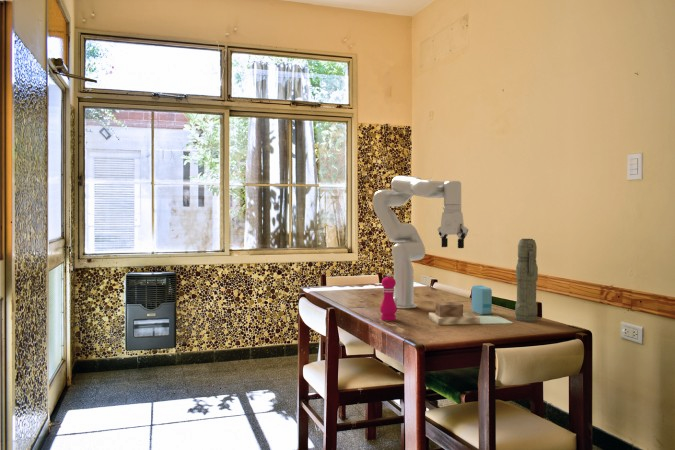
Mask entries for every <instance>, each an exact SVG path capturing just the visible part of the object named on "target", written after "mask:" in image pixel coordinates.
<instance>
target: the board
mask: <svg viewBox="0 0 675 450" xmlns="http://www.w3.org/2000/svg"><path fill="white" fill-rule="evenodd" d="M477 316H478V315H475V314H473V313H471V312H469V311H463V316H460V317H439V316H438V315H436V312H428V319H429V320H430V321H432V322H433V323H435V324H436V325H438V326H440V325H442V326H443V325H446V326H447V325H481V324H480V318H479V317H477Z"/></svg>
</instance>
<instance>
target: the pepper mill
mask: <svg viewBox="0 0 675 450" xmlns="http://www.w3.org/2000/svg"><path fill="white" fill-rule="evenodd" d="M395 285H396V281H395V279H394V277H392V276H391V273H389V272H388V273H387V274H386V276H385V277H383V278H382V279H381V286H382V292H383V298H382V299H383V300H382V302H381V304H380V309H379V311H380V313H381V317H380V318H381V319H380V320H381V321H384V320H388V321H387V322H391V320H394V321H396V319H397V318H396V317H397V316H396V313H397V312H398V308H397V307H396V304H395V301H394V298H393V296H394V286H395Z"/></svg>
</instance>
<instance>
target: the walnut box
mask: <svg viewBox="0 0 675 450" xmlns="http://www.w3.org/2000/svg"><path fill="white" fill-rule="evenodd" d="M434 305H435V313H436V315H438V316H439V317H460V316H463V312H464V304H463V303H461V302H459V301H454V302H453V301H449V302H447V301H446V302H445V301H443V302H435V304H434Z"/></svg>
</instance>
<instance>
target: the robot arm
mask: <svg viewBox="0 0 675 450" xmlns="http://www.w3.org/2000/svg"><path fill="white" fill-rule="evenodd" d="M390 182H391V183H390V186H391V188H392V189H379V190H378V191H375V193H374V195H373V197H372V209H373V211H374V212H375V215H376V216H377V218H378V219H379V221H380V223H381V225H382V228H383V230H384V232H385V235H386V236H387V239H388V240H389V241H390V242H391V243H395V244H394V245H393V246H392V249H391V255H392V261H393V278H394V279H395V281H396V285H395V286H394V292H393V298H394V301H395V304H396V307H397V309H414V308H417V306H418V305H417V304H416V303H415V302H414V283H415V282H414V277H415V276H414V275H415V273H414V268H413V265H412V261H413V262H414V261H420V260H422V259H424V257H425V255H426V248H425V245H424V243H423V240H422V238H421V236H420V234H419V232H418V229H416V227H415V226H414V225H413V224H411V223H407V222H400V220H399V218H398V215H397V214H396V212H395V211H393V209H391V208H390V207H402V206H404V205H405V204H406V203H407V202H408V201H409V200H410V199H411V198H412V197H413V196H416V197H421V198H429V199H431V198H432V199H435V198H437V199H443V207H442V209H443V212H442V214H441V217H440V218H441V221H440V226H439V227H438V228H437V233H438V235H439V237H440V238H441V248H448V244H449V243H448V238H447V237H448V235H453V236H454V235H456V236H457V249H464V247H465V239H466V237H467V235H468V232H469V228H467V227H466V226H465V223H464V215H463V211H462V183H461V181H459V180H446V181H441V180H424V179H422V178H421V177H419V176H418V177H416V176H412V175H396V176H395V177H394V178H392V180H391V181H390Z"/></svg>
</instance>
